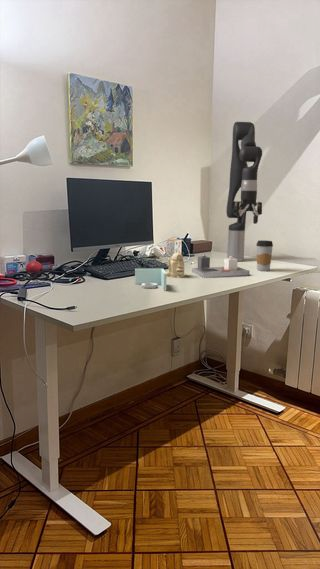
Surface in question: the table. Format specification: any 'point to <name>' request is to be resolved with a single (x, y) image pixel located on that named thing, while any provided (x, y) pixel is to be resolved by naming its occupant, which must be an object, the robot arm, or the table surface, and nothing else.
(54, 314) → the table surface
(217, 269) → the socket plate
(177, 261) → the robot
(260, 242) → the coffee cup
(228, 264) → the white plug
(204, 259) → the grey plug
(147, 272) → the l-shaped corner panel
